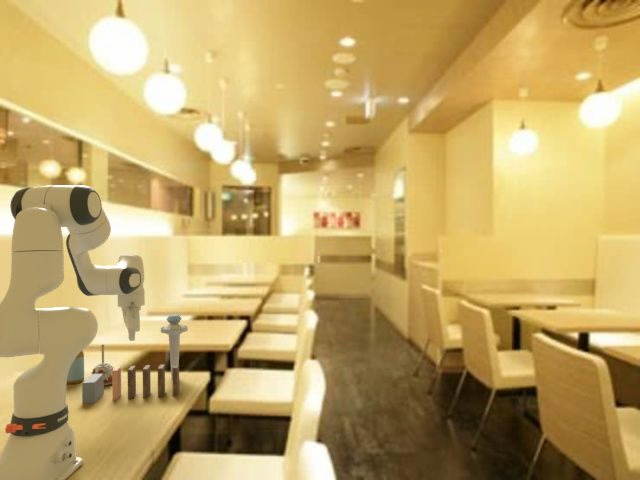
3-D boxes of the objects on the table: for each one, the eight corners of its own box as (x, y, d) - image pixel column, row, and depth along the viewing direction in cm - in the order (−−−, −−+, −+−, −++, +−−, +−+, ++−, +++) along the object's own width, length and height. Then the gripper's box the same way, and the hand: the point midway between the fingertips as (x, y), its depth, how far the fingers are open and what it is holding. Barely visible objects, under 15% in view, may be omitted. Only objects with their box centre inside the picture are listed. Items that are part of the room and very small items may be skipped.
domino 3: (150, 392, 172) (150, 365, 172) (147, 397, 167) (147, 368, 167) (145, 393, 172) (145, 365, 171) (143, 397, 167) (142, 369, 166)
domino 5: (179, 391, 173) (179, 363, 173) (177, 395, 168) (177, 367, 168) (174, 391, 173) (174, 363, 173) (172, 396, 168) (172, 367, 168)
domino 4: (165, 391, 173) (164, 364, 172) (162, 396, 168) (162, 368, 167) (160, 392, 172) (160, 364, 172) (157, 396, 167) (157, 368, 167)
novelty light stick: (187, 373, 194) (186, 312, 194) (188, 381, 185) (187, 316, 184) (161, 376, 191) (160, 313, 191) (161, 383, 182) (160, 318, 181)
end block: (95, 402, 162) (94, 382, 162) (82, 403, 161) (82, 382, 161) (103, 393, 172) (103, 373, 172) (91, 393, 171) (91, 374, 171)
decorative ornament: (87, 386, 180) (86, 346, 179) (102, 380, 187) (102, 341, 187) (103, 388, 177) (103, 347, 177) (118, 382, 185) (118, 343, 184)
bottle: (81, 377, 190) (81, 340, 190) (86, 381, 185) (85, 343, 184) (62, 381, 186) (61, 342, 185) (66, 385, 180) (65, 345, 180)
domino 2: (136, 393, 171) (135, 365, 171) (132, 398, 166) (132, 369, 166) (131, 393, 171) (130, 365, 171) (127, 398, 166) (127, 369, 166)
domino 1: (121, 394, 170) (120, 366, 170) (117, 399, 165) (117, 370, 165) (116, 394, 170) (116, 366, 170) (112, 399, 165) (112, 370, 165)
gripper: (144, 304, 160) (144, 345, 160) (137, 296, 178) (138, 333, 179) (123, 305, 157) (124, 347, 158) (119, 297, 176) (120, 335, 176)
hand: (131, 340), depth 168 cm, fingers closed
